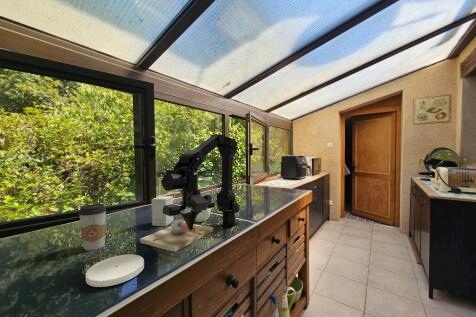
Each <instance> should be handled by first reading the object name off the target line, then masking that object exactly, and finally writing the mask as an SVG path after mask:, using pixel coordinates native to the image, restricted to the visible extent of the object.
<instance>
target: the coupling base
mask: <svg viewBox="0 0 476 317" xmlns="http://www.w3.org/2000/svg"><path fill="white" fill-rule="evenodd" d="M194 225H195V226H199V227H200V232H199V233H197V234H195V233H192V232H189V231H186V233H184V234H180V235H173V234H171V225H170V226H168V227H166V228H164V229H161V230H158V231H156V232H153V233H150V234H149V235H146V236H144V237H140V238H139V243H140V244H142V245H143V244H144V245H148V246H152V247H154V248H158V249H163V250H166V251H170V252H173V253H177V252H178V251H180V250H181V249H183V248H185V247H187V246H189V245H190V244H192V243H195V242H196V241H199V240H200V239H201V238H203V237H205V236H207V235H209V234H210V233H213V232H214V227H213V226H207V225H201V224H195V223H194Z"/></svg>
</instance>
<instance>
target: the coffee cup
mask: <svg viewBox="0 0 476 317" xmlns="http://www.w3.org/2000/svg"><path fill="white" fill-rule="evenodd" d="M106 214H107V206H106V205H105V204H104V203H93V204H87V205H83V206H80V209H79V211H78V215H79V223H80V230H81V239H82V245H83V249H84V250H85V251H87V252H88V251H96V250H99V249H101V248H103V247H104V246H105V245H106V244H105V241H106V228H107V227H106V226H107V225H106V224H107V223H106V221H107V220H106V219H107V218H106Z"/></svg>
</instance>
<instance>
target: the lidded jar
mask: <svg viewBox="0 0 476 317" xmlns="http://www.w3.org/2000/svg"><path fill="white" fill-rule="evenodd" d="M211 210H212V208H207V209H206V210H202V212H200V213H199V214H198V215H197V217H196V219H195V222H197V223H202V222H206V221H207V219H208V218H209V217H210V214H211Z"/></svg>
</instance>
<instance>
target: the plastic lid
mask: <svg viewBox="0 0 476 317" xmlns="http://www.w3.org/2000/svg"><path fill="white" fill-rule="evenodd" d="M144 268H145V260H144V258H143V257H142V256H141V255H138V254H128V253H127V254H121V255H119V254H118V255H116V256H111V257H108V258H106V259H104V260H100V261H99V262H97V263H95V264H93V265H92V266H91V267H89V268H88V269H87V270H86V272H85V282H86V284H87V285H89V286H90V287H95V288H98V287H99V288H104V287H105V288H106V287H109V286H110V287H112V286H115V285H120V284H122V283H125V282H127V281H129V280H131V279H133V278H135V277H137V276H139V274H140V273H142V271H143V270H144Z"/></svg>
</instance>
